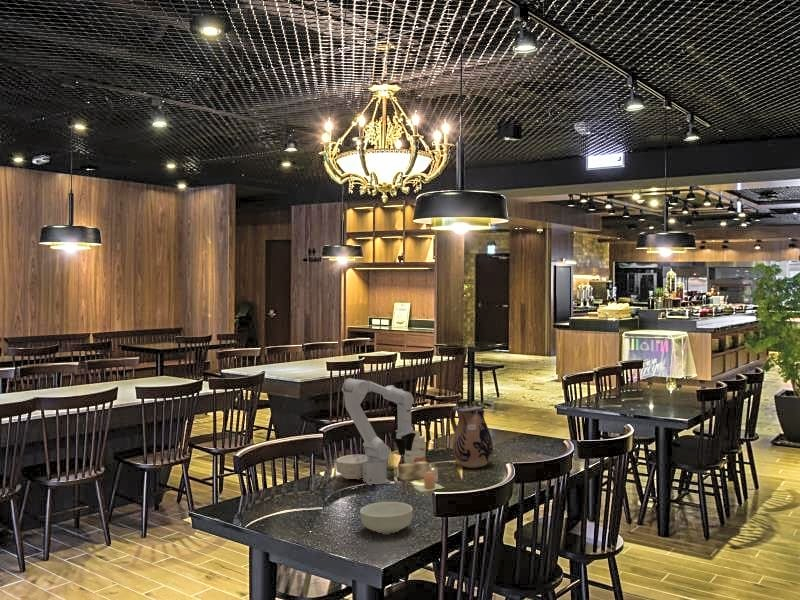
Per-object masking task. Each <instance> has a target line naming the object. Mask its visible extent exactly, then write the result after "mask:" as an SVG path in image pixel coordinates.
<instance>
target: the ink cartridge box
mask: <svg viewBox="0 0 800 600" xmlns="http://www.w3.org/2000/svg"><path fill="white" fill-rule="evenodd" d="M412 433H416V435H415V438H414V440H413V444H412V449H411V451H406V448H405V455H403V456H404V464H405V463H412V462H420V461H426V462H427V460H426V437H425V436H423V435H421V431H419V430H413V432H412Z"/></svg>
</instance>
